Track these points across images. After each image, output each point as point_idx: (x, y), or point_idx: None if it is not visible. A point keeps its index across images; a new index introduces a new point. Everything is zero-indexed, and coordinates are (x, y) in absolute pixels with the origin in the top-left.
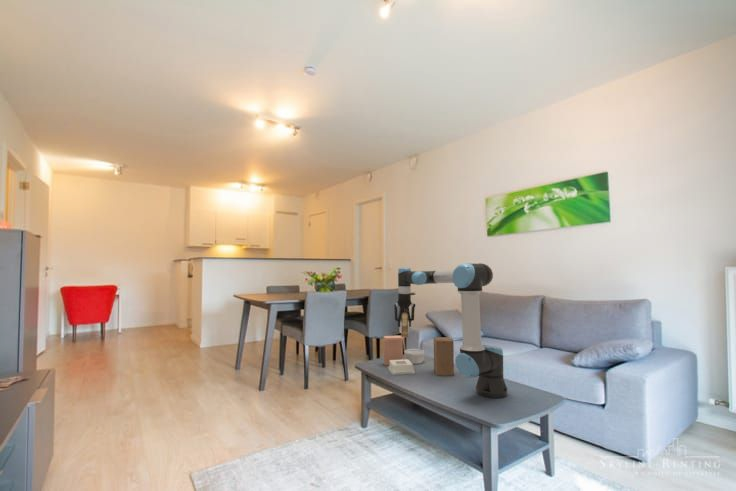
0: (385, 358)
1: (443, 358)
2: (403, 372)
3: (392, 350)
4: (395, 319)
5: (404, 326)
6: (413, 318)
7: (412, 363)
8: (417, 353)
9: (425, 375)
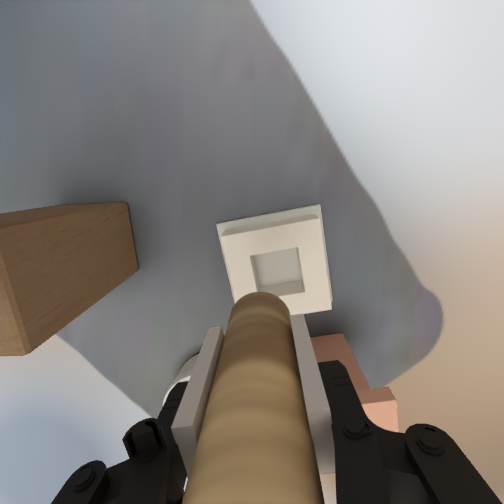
0: (345, 350)
1: (45, 212)
2: (267, 215)
3: None
4: (457, 446)
5: (257, 352)
6: (62, 501)
7: None
8: None
9: (174, 203)
